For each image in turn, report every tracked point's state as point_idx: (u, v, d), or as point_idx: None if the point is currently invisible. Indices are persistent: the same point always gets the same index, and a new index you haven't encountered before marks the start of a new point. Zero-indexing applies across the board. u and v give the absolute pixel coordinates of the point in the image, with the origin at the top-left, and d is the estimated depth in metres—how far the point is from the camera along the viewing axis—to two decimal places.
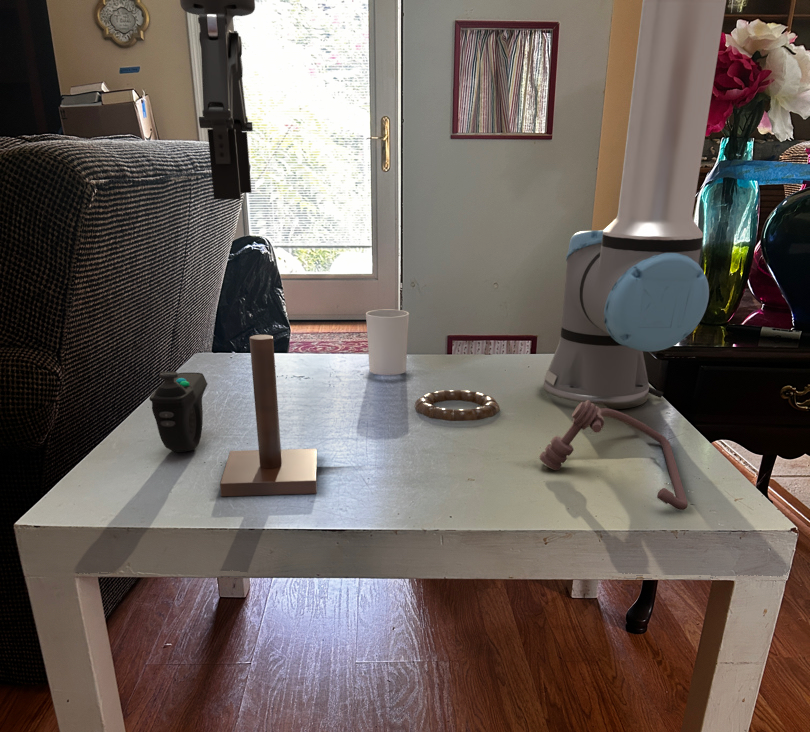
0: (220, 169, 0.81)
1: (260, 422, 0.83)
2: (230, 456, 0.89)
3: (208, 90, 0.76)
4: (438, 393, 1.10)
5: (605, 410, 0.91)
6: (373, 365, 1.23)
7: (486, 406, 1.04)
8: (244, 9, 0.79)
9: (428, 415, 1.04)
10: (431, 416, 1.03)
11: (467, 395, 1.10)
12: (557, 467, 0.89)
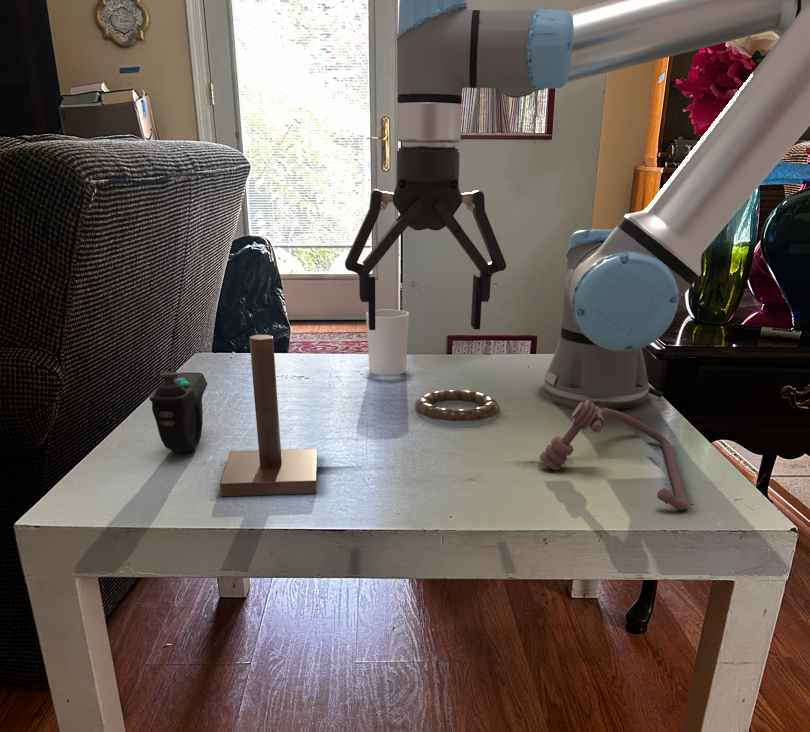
0: (368, 304, 1.01)
1: (260, 422, 0.83)
2: (230, 456, 0.89)
3: (352, 247, 0.98)
4: (438, 393, 1.10)
5: (605, 410, 0.91)
6: (373, 365, 1.23)
7: (486, 406, 1.04)
8: (415, 182, 0.92)
9: (428, 415, 1.04)
10: (431, 416, 1.03)
11: (467, 395, 1.10)
12: (557, 467, 0.89)
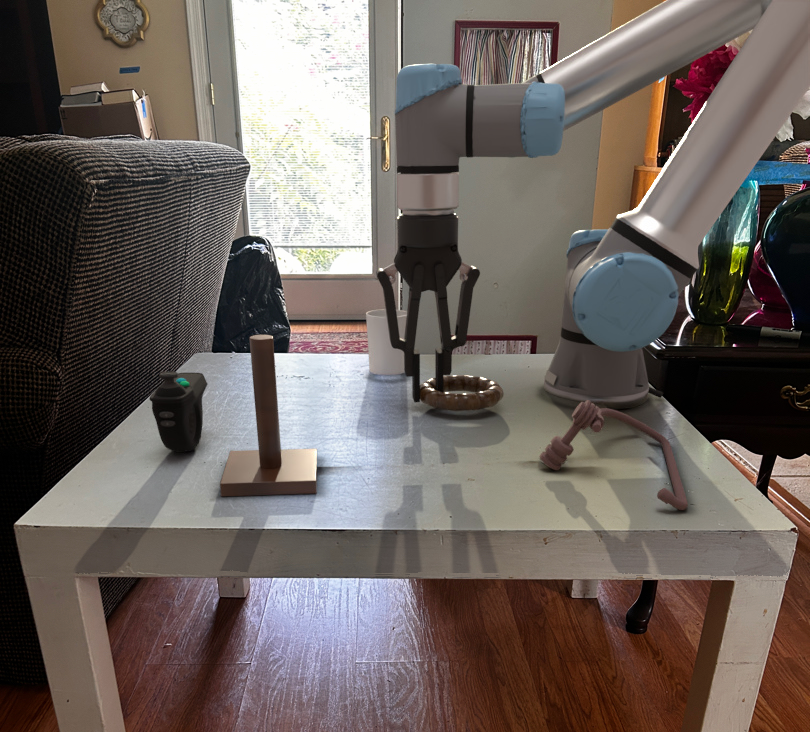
0: (412, 378, 1.05)
1: (260, 422, 0.83)
2: (230, 456, 0.89)
3: (388, 327, 1.02)
4: None
5: (605, 410, 0.91)
6: (373, 365, 1.23)
7: (490, 390, 1.03)
8: (416, 248, 0.95)
9: (431, 400, 1.03)
10: (434, 400, 1.02)
11: (470, 380, 1.09)
12: (557, 467, 0.89)
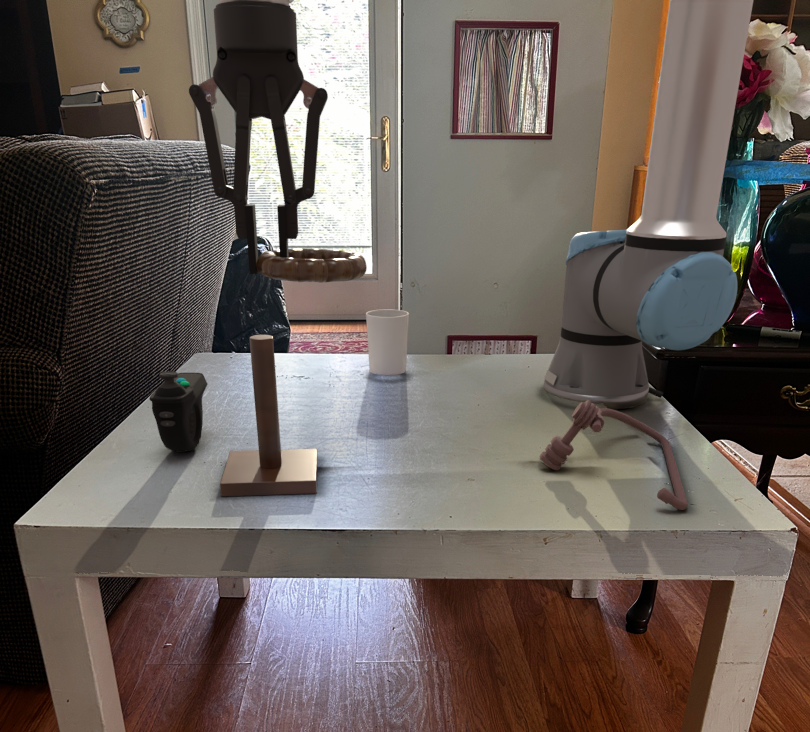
0: None
1: (260, 422, 0.83)
2: (230, 456, 0.89)
3: None
4: (293, 250, 0.85)
5: (605, 410, 0.91)
6: (373, 365, 1.23)
7: (344, 258, 0.79)
8: (235, 49, 0.71)
9: (266, 266, 0.79)
10: (270, 267, 0.78)
11: (331, 254, 0.85)
12: (557, 467, 0.89)
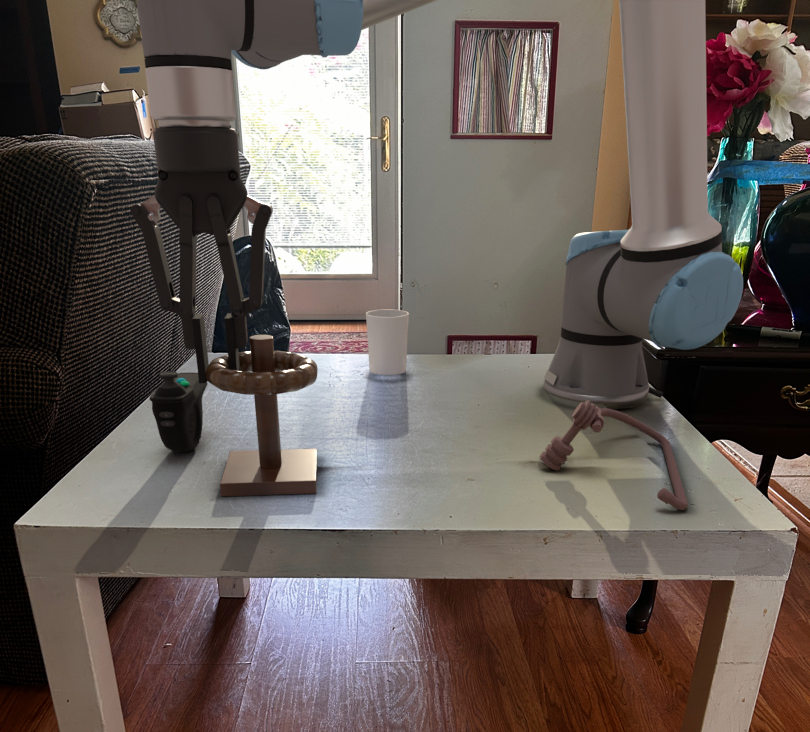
0: None
1: (260, 422, 0.83)
2: (230, 456, 0.89)
3: None
4: (245, 353, 0.84)
5: (605, 410, 0.91)
6: (373, 365, 1.23)
7: (293, 369, 0.79)
8: (174, 172, 0.70)
9: (214, 379, 0.78)
10: (217, 380, 0.78)
11: (283, 357, 0.85)
12: (557, 467, 0.89)
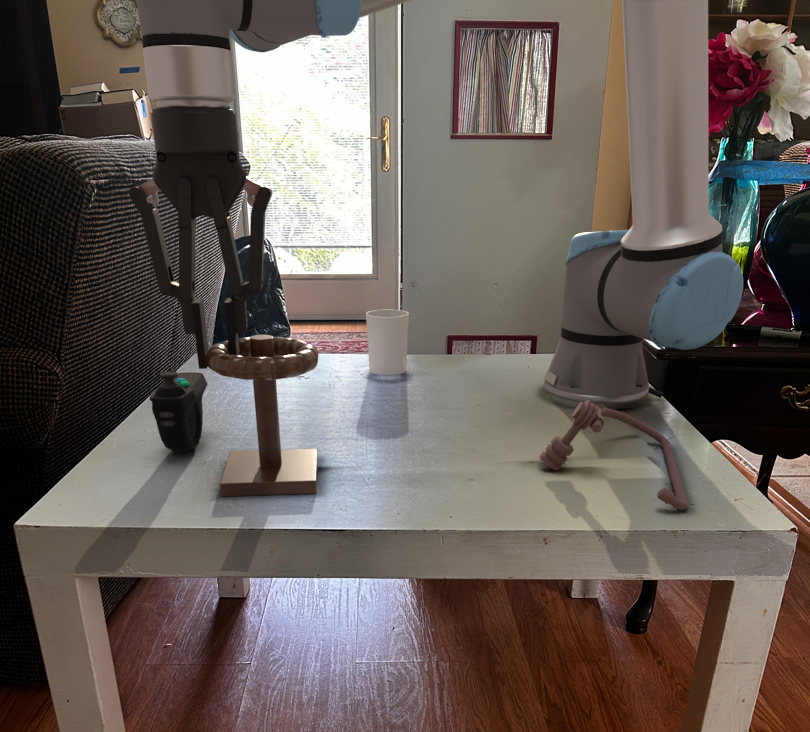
0: None
1: (260, 422, 0.83)
2: (230, 456, 0.89)
3: None
4: (245, 339, 0.84)
5: (605, 410, 0.91)
6: (373, 365, 1.23)
7: (294, 354, 0.78)
8: (173, 154, 0.70)
9: (214, 364, 0.77)
10: (217, 365, 0.77)
11: (283, 343, 0.84)
12: (557, 467, 0.89)
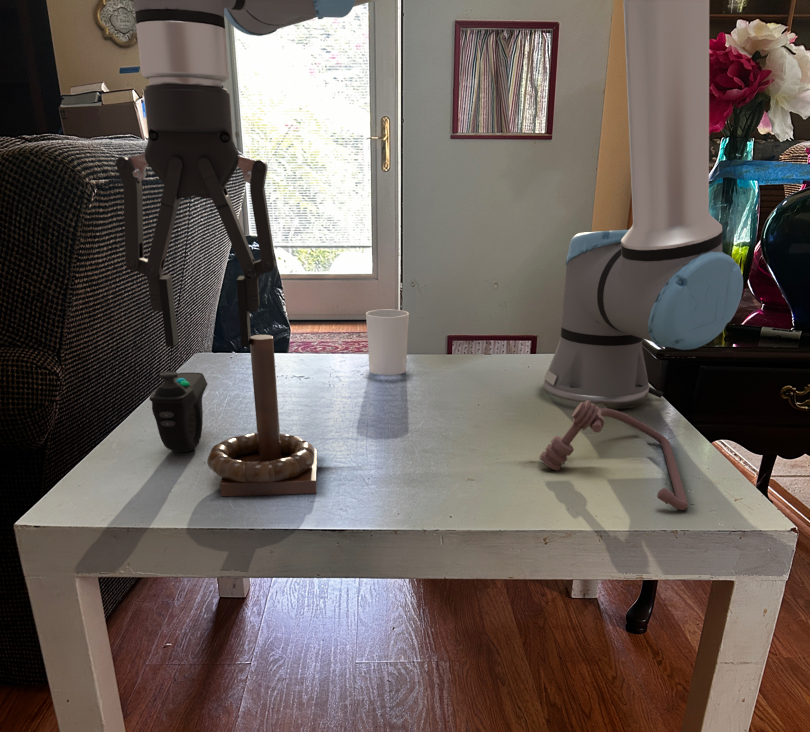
0: None
1: (260, 422, 0.83)
2: None
3: None
4: (245, 437, 0.88)
5: (605, 410, 0.91)
6: (373, 365, 1.23)
7: (291, 457, 0.82)
8: (165, 132, 0.69)
9: (216, 468, 0.82)
10: (219, 470, 0.82)
11: (281, 440, 0.88)
12: (557, 467, 0.89)
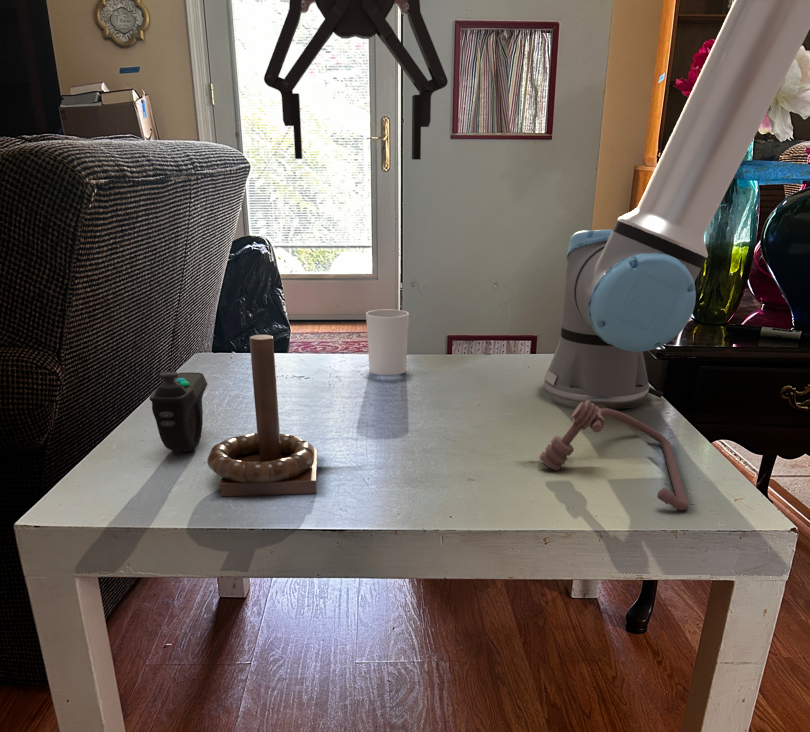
0: None
1: (260, 422, 0.83)
2: None
3: None
4: (245, 437, 0.88)
5: (605, 410, 0.91)
6: (373, 365, 1.23)
7: (291, 457, 0.82)
8: None
9: (216, 468, 0.82)
10: (219, 470, 0.82)
11: (281, 440, 0.88)
12: (557, 467, 0.89)
